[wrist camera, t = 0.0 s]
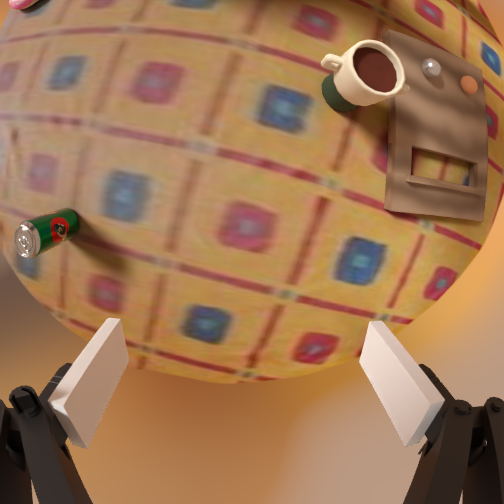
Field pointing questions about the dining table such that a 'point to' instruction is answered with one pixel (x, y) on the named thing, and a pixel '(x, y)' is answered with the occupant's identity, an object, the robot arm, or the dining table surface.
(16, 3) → the donut
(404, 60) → the walnut board
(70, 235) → the soda can
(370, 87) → the character mug
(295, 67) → the dining table surface
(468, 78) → the rust ball
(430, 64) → the steel ball
